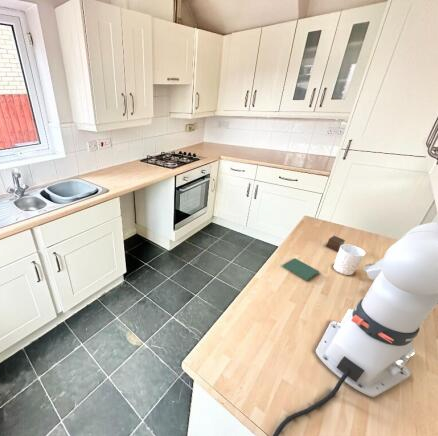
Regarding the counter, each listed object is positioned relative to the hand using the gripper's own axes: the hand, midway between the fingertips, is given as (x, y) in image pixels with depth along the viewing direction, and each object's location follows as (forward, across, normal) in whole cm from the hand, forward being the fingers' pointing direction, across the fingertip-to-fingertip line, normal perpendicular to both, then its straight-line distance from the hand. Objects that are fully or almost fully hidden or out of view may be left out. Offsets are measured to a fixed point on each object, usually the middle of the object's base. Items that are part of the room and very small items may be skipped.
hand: (365, 267), depth 92 cm
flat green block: (+14, -15, +7) cm, 22 cm away
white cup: (+8, 0, 0) cm, 8 cm away
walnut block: (+15, +13, +8) cm, 21 cm away
